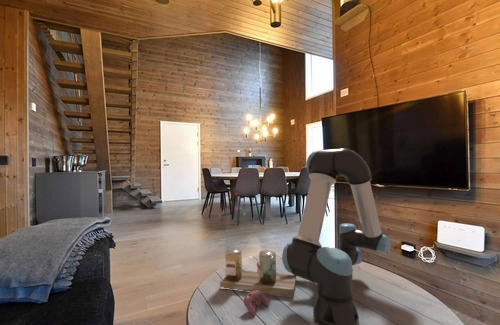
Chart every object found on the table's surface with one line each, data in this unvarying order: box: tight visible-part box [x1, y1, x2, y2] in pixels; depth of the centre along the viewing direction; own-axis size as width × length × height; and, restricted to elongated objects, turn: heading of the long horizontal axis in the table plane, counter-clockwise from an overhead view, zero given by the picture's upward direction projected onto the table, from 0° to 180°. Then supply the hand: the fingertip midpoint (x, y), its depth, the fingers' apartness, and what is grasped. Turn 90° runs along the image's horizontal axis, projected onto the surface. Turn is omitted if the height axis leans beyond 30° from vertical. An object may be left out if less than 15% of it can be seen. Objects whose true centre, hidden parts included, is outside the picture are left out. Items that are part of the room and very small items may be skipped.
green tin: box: [256, 249, 277, 285], centre depth 113 cm, size 8×8×12 cm
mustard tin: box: [224, 247, 243, 281], centre depth 117 cm, size 8×8×12 cm
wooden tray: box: [219, 270, 297, 298], centre depth 114 cm, size 16×32×3 cm, turn 76°
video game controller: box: [243, 290, 270, 316], centre depth 96 cm, size 10×5×7 cm, turn 141°
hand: (287, 263), depth 115 cm, fingers open, 13 cm apart
